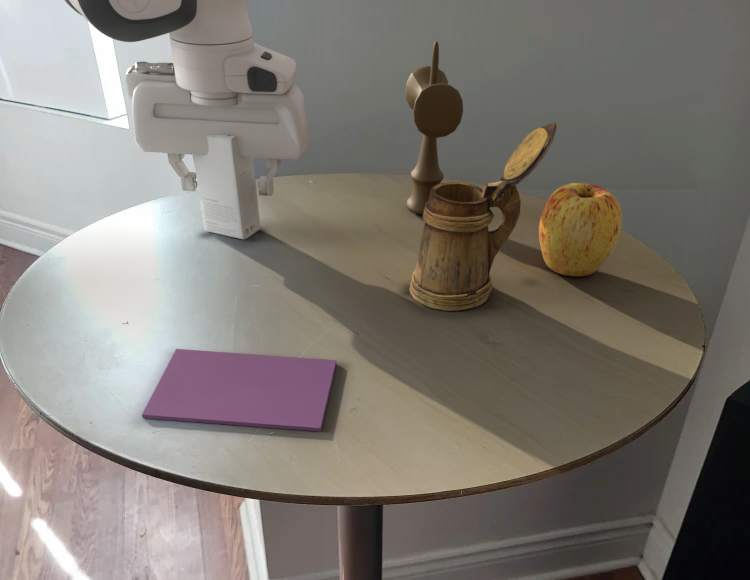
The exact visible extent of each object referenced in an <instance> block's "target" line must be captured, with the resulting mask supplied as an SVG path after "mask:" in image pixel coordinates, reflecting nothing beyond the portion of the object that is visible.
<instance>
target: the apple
mask: <svg viewBox="0 0 750 580" xmlns="http://www.w3.org/2000/svg"><path fill="white" fill-rule="evenodd" d="M544 204H545V205H544V207H543V209H542V212H541V215H540V219H539V224H538V239H539V244H540V250H541V254H542V258H543V261H544V262H545V265H546V266H547V267H548V268H549V269H550V270H551V271H552V272H554V273H557V274H559V275H563V276H569V277H586V276H589V275H592V274H593V273H595V272H596V271H597V270H599V269H600V267H601V266H602V265H603V264H604V263H605V262H606V260H607V259H608V258H609V257H610V255H611V253H612V252H613V251H614V249H615V247H616V245H617V243H618V241H619V238H620V235H621V232H622V226H623V213H622V208H621V205H620V202H619V200H618V199H617V197H615V195H614V194H613V193H611V192H609V191H608V190H606V189H605V188H603V187H602V186H599V185H596V184H594V183H593V184H592V183H588V182H570V183H567V184H564V185H561V186H560V187H558V188H557V189H556V190H554V191H553V192H552V193H551V194H550V196H549V197H548V199H547V200H546V202H545V203H544Z"/></svg>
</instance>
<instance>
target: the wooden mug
mask: <svg viewBox="0 0 750 580" xmlns="http://www.w3.org/2000/svg"><path fill="white" fill-rule="evenodd" d="M557 129H558V128H557V123H556V122H552V123H547V124H544V125H542V126H539V127H538V128H536V129H534V130H533V131H531V132H529V134H528V135H526V136H525V138H523V139H522V141H520V143H519V144H518V146H517V147H516V148H515V149H514V151H513V152H512V153H511V156H510V157H509V159H507V163H506V165H505V167H504V170H503V174H502V176H501V178H499V180H498V181H495V182H488V183H485V184H484V185H483V188H481V187H479V186H478V185H475V184H472V183H468V182H461V181H450V182H449V181H447V182H441V183H440V184H438V185H436V186H434V187H433V188H432V189H431V191H430V196H429V201H428V202H427V203H426V206H425V209H424V213H423V215H422V219H423V222H424V225H423V231H422V236H421V240H420V246H419V251H418V255H417V260H416V265H415V269H414V270H413V272H412V276H411V280H410V284H409V292H410V295H411V296H412V298H413V299H414V300H415V301H416V302H418V303H420V304H422V305H423V306H426V307H429V308H432V309H435V310H438V311H447V312H451V311H454V312H456V311H464V310H469V309H473V308H477V307H479V306H481V305H482V304H484V303H486V302H487V300H488V299H489V298H490V296H491V292H492V289H493V282H492V276H491V274H490V273H491V270H492V267H493V263H494V260H495V257H496V256H497V255H498V253H499V251H500V249H501V248H502V247H503V245H504V244H505V243H506V241H507V240H508V239H509V238H510V235H511V234H512V233H513V231H514V229H515V227H516V226H517V223H518V220H519V217H520V215H521V203H522V201H521V196H520V192H519V190H518V189H517V185H518V184H520V183H521V182H522V181H524V180H525V179H527V178H528V176H529V175H530V174H531V173H532V172H533V171H534V170H535V169H536V168H537V167H538V165H540V163H541V162H542V161H543V159H544V158H545V156H546V155H547V153H548V151H549V150H550V148H551V146H552V144H553V142H554V139H555V136H556V134H557V133H556V132H557ZM491 208H498V209H499V210H500V211H501V213H502V221H501V222H500V224H499V225H498V227H497V228H495V229H493V230H490V231H489V225H490V224H491V223H492V222H493V220H494V217H495V214H494V211H492V210H491Z"/></svg>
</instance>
